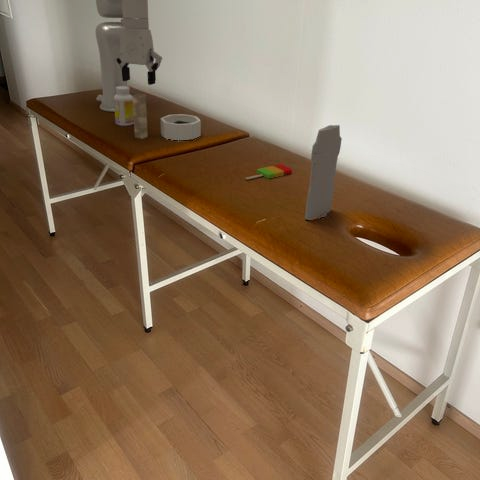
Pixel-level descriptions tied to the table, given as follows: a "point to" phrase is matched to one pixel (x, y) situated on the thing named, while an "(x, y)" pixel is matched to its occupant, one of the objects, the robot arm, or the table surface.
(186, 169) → the table surface
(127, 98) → the supplement bottle
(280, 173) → the popsicle
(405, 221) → the table surface
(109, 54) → the robot arm
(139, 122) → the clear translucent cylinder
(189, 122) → the clip
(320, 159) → the gray upright slab
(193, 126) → the grey hollow ring
